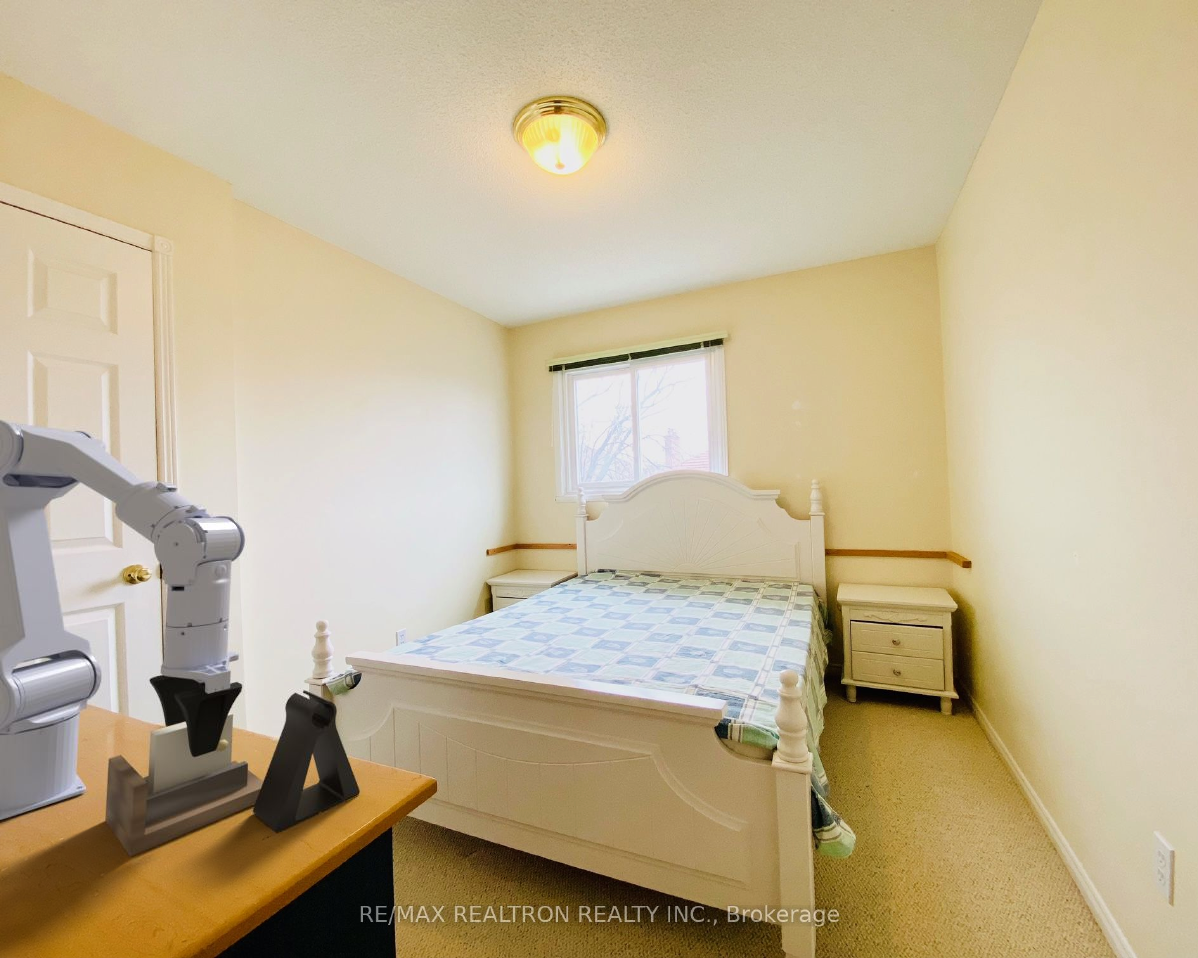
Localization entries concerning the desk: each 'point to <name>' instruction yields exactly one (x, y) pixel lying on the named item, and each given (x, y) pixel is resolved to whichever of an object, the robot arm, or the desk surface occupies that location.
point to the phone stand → (305, 766)
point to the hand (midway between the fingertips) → (192, 743)
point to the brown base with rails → (173, 803)
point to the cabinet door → (184, 756)
